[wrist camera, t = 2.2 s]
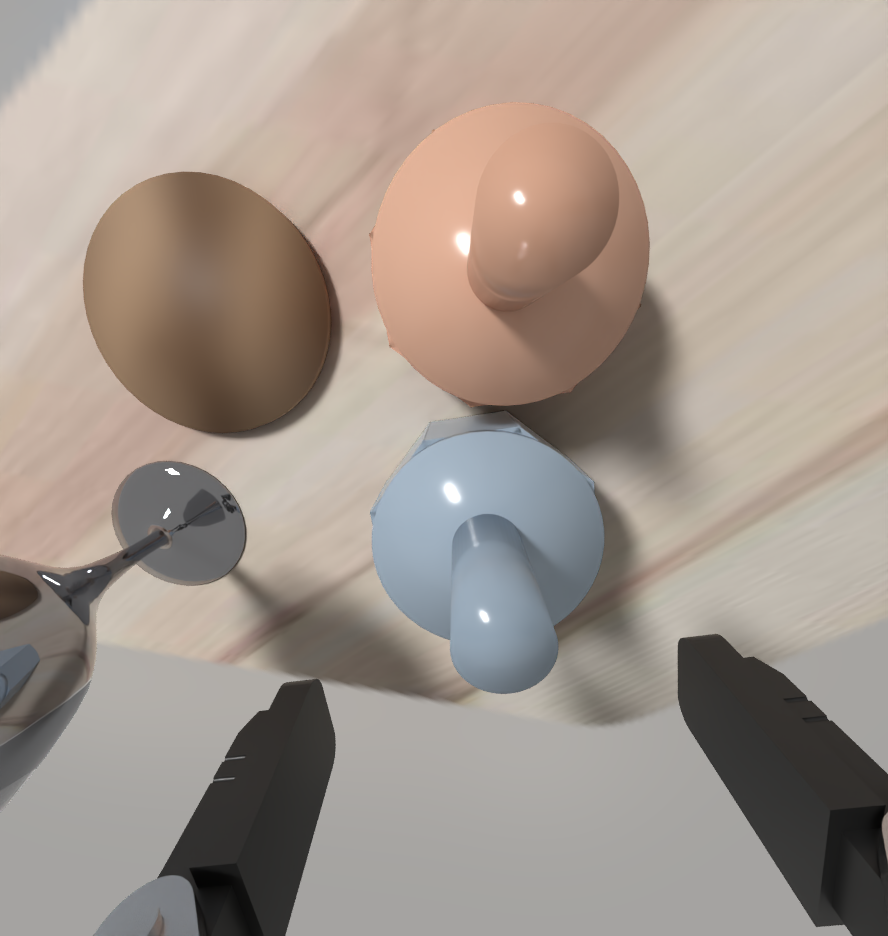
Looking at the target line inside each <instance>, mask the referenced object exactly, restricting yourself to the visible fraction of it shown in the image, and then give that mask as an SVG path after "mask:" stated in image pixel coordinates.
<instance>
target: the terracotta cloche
mask: <svg viewBox="0 0 888 936" xmlns="http://www.w3.org/2000/svg"><path fill="white" fill-rule="evenodd" d="M369 236H370V241H371V246H372V279H373V287H374V293H375V297H376V301H377V305H378V309H379V311H380V314H381V317H382V319H383V322H384V325H385V327H386V329H387V335H388V340H389V346H390V348H392V349H394V350H395V351H396V352H398V353H399V354H400V355H402V356H403V357H404V358H405V359H406V360H407V361H408V362H409V363H410V364H411V365H412V366H413V367H414V368H415V370H417V371H418V372H419V373H420V374H421V375H423V376H424V377H425V378H426V379H427V380H428V381H430V382H431V383H433V384H435V385H436V386H438V387H439V388H441V389H442V390H444V391H446V392H448V393H451V394H453V395H455V396H457V397H458V398H459V399H461V400H462V401H463V402H465V403H466V404H468V405H469V406H470V407H476V406H482V405H503V406H509V405H520V404H527V403H531V402H536V401H540V400H543V399H546V398H549V397H552V396H554V395H557V394H562V393H568V392H569V393H570V392H572V390H573V389H574V387H575V386H576V385H577V384H578V382H580V381H581V380H583V379H584V378H586V377H587V376H588V375H590V374H591V373H592V372H593V371H594V370H595V369H597V368H598V367H599V366H600V365H601V364H602V363H603V362H604V361H605V360H606V359H607V357H608V356H609V355H610V354H611V353H612V352H613V351H614V349H615V348H616V346H617V345H618V344H619V342H620V341H621V340H622V338H623V337H624V335H625V333H626V331H627V330H628V328H629V326H630V324H631V322H632V321H633V319H634V316H635V314H636V311H637V309H638V308H639V307H641V304H640V302H641V298H642V294H643V291H644V287H645V284H646V278H647V272H648V266H649V247H650V241H649V230H648V221H647V216H646V212H645V207H644V203H643V200H642V197H641V194H640V191H639V189H638V186H637V183H636V181H635V180H634V178H633V176H632V174H631V172H630V170H629V168H628V166H627V165H626V163H625V162H624V160H623V159H622V158H621V156H620V155H619V153H618V152H617V151H616V149H615V148H614V147H613V146H612V145H611V144H610V143H609V142H608V141H607V140H606V139H605V138H604V137H603V136H602V135H601V134H600V133H599V132H597V131H596V130H595V129H593V128H592V127H591V126H590V125H588V124H587V123H585V122H583V121H582V120H580V119H578V118H576V117H574V116H573V115H571V114H569V113H566V112H563V111H561V110H558V109H555V108H553V107H549V106H544V105H539V104H534V103H516V102H510V103H502V104H493V105H489V106H485V107H482V108H478V109H474V110H471V111H469V112H467V113H465V114H462V115H460V116H458V117H456V118H454V119H452V120H450V121H449V122H447V123H446V124H444V125H442V126H441V127H439V128H438V129H436V130H432V133H431V134H430V135H429V136H428V137H427V138H426V139H424V140H423V141H422V142H421V143H420V144H419V145H418V146H417V147H416V148H415V149H414V151H413V152H412V153H411V154H410V155H409V156H408V157H407V159H406V160H405V161H404V163H403V164H402V166H401V167H400V169H399V170H398V171H397V173H396V174H395V176H394V178H393V180H392V182H391V184H390V186H389V188H388V190H387V191H386V194H385V196H384V199H383V202H382V204H381V207H380V210H379V213H378V217H377V221H376V225H375V226H374V228H373V229H372V231H371V233H369Z"/></svg>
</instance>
